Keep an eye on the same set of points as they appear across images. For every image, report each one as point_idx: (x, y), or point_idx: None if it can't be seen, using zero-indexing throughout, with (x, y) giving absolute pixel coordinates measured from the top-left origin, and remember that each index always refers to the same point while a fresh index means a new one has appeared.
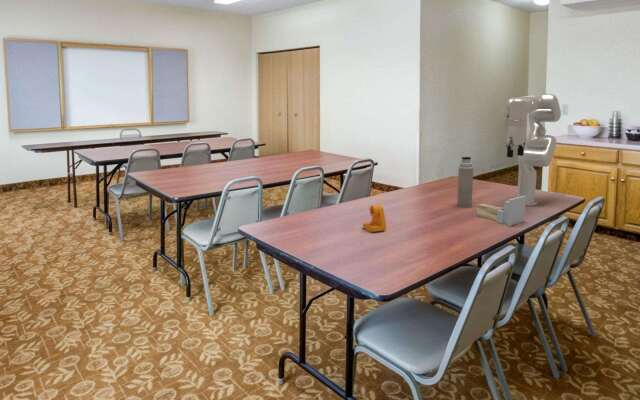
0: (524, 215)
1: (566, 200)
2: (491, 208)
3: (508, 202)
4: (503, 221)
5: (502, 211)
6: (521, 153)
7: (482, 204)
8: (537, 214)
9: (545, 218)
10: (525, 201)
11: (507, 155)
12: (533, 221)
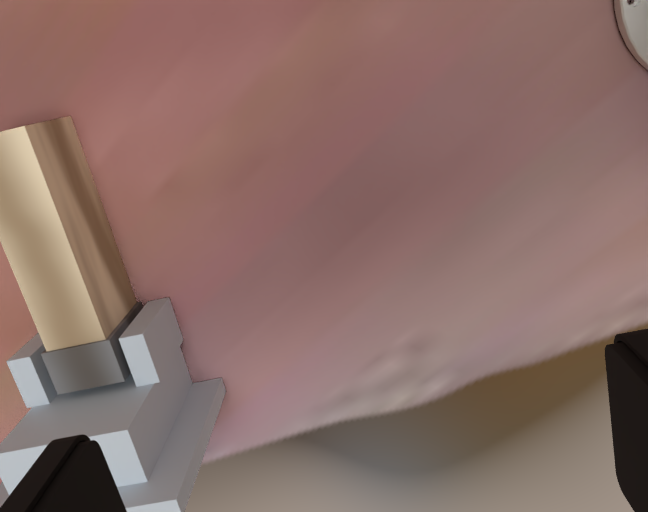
0: (216, 415)
1: None
2: (18, 277)
3: (4, 483)
4: None
5: (23, 399)
6: (643, 499)
7: (15, 146)
8: (457, 307)
9: (409, 402)
10: (193, 483)
11: (46, 474)
12: (279, 416)
